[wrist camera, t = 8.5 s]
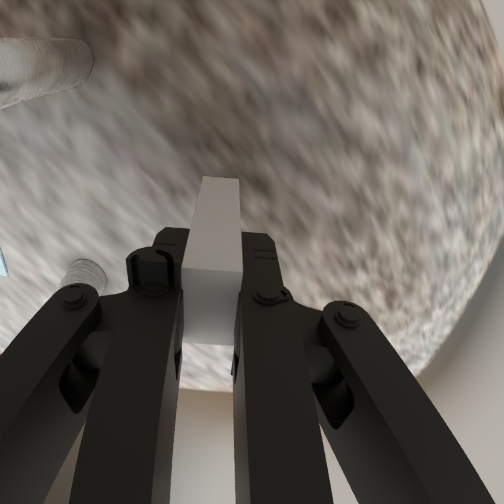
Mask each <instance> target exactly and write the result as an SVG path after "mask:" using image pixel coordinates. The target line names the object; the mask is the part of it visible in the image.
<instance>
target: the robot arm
mask: <svg viewBox="0 0 504 504" xmlns="http://www.w3.org/2000/svg"><path fill="white" fill-rule="evenodd" d="M126 266H127V274H128V282H129V288H128V290H127V291H125V292H122V293H118V294H113V295H106V296H99V294H98V292H97V291H96V289H95V288H94V287H92V286H91V285H89V284H85V283H73V284H69V285H66V286H64V287H62V288H60V289H59V290H58V291H57V292H55V293H54V294H53V295H52V297H51V298H50V299H49V300H48V301H47V302H46V303H45V304H44V305H43V306H42V307H41V309H40V310H39V311H38V312H37V313H36V314H35V315H34V316H33V318H32V319H31V320H30V321H29V322H28V323H27V324H26V326H25V327H24V328H23V329H22V330H21V331H20V333H19V334H18V335H17V336H16V337H15V338H14V340H13V341H12V342H11V343H10V344H9V346H8V347H7V348H6V349H5V351H4V352H3V353H2V354H1V356H0V504H43V503H44V500H45V498H46V496H47V494H48V492H49V490H50V488H51V486H52V484H53V482H54V480H55V478H56V476H57V474H58V472H59V470H60V468H61V466H62V464H63V462H64V461H65V459H66V457H67V455H68V453H69V451H70V449H71V447H72V445H73V444H74V442H75V440H76V438H77V436H78V434H79V432H80V431H81V429H82V427H83V425H84V423H85V422H86V424H85V428H84V432H83V436H82V440H81V444H80V449H79V453H78V458H77V463H76V468H75V473H74V478H73V483H72V488H71V494H70V500H69V504H169V503H170V486H171V469H172V456H173V455H172V454H173V443H174V431H175V420H176V408H177V399H178V390H179V380H180V371H181V363H182V339H183V342H188V343H201V344H215V345H232V346H234V354H233V361H232V369H231V375H233V417H234V460H235V493H236V504H334V503H333V497H332V491H331V485H330V480H329V474H328V468H327V463H326V457H325V452H324V446H323V441H322V436H321V430H320V425H321V427H322V429H323V431H324V434H325V436H326V438H327V440H328V442H329V444H330V446H331V448H332V450H333V452H334V454H335V456H336V458H337V460H338V462H339V464H340V466H341V469H342V470H343V473H344V475H345V477H346V479H347V481H348V483H349V485H350V487H351V489H352V491H353V493H354V495H355V497H356V499H357V501H358V503H359V504H495V502H494V500H493V499H492V497H491V495H490V494H489V492H488V490H487V489H486V487H485V485H484V483H483V482H482V480H481V479H480V477H479V475H478V473H477V472H476V470H475V468H474V467H473V465H472V464H471V462H470V460H469V459H468V457H467V455H466V454H465V453H464V451H463V449H462V448H461V446H460V445H459V443H458V441H457V440H456V438H455V437H454V435H453V434H452V432H451V431H450V429H449V428H448V426H447V425H446V423H445V422H444V420H443V418H442V417H441V415H440V414H439V412H438V411H437V409H436V408H435V406H434V405H433V403H432V402H431V400H430V399H429V398H428V396H427V395H426V393H425V392H424V391H423V389H422V387H421V386H420V384H419V383H418V382H417V380H416V379H415V377H414V376H413V374H412V373H411V372H410V370H409V369H408V367H407V366H406V365H405V363H404V362H403V360H402V359H401V358H400V356H399V355H398V353H397V352H396V351H395V349H394V348H393V346H392V345H391V344H390V342H389V341H388V340H387V338H386V337H385V336H384V334H383V333H382V331H381V330H380V329H379V327H378V326H377V325H376V323H375V322H374V321H373V319H372V318H371V317H370V315H369V314H368V313H367V312H366V311H365V310H364V309H363V308H362V307H360V306H358V305H356V304H354V303H351V302H348V301H333V302H330V303H328V304H327V305H326V306H325V307H324V309H323V311H320V310H317V309H313V308H309V307H306V306H303V305H301V304H299V303H297V302H295V301H294V300H293V297H292V295H291V293H290V291H289V290H288V289H287V288H285V287H284V286H283V281H282V276H281V271H280V266H279V261H278V257H277V253H276V247H275V242H274V241H273V240H272V239H271V238H270V237H269V235H268V234H264V233H252V232H241V217H240V194H239V179H234V178H222V177H209V176H203V179H202V183H201V187H200V191H199V195H198V199H197V203H196V207H195V211H194V215H193V219H192V223H191V228H190V229H186V228H172V227H165V228H164V229H163V230H161V231H160V232H159V233H158V234H157V235H156V237H155V240H154V243H153V245H152V247H144V248H140V249H137V250H135V251H134V252H132V253H130V254H129V256H128V257H127V258H126ZM319 423H320V425H319Z"/></svg>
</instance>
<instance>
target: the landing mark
mask: <svg viewBox="0 0 504 504" xmlns="http://www.w3.org/2000/svg"><path fill="white" fill-rule="evenodd" d="M0 275H2V276H8V272H7V269H6V266H5V263H4V259H3V256H2V253H1V249H0Z"/></svg>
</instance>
